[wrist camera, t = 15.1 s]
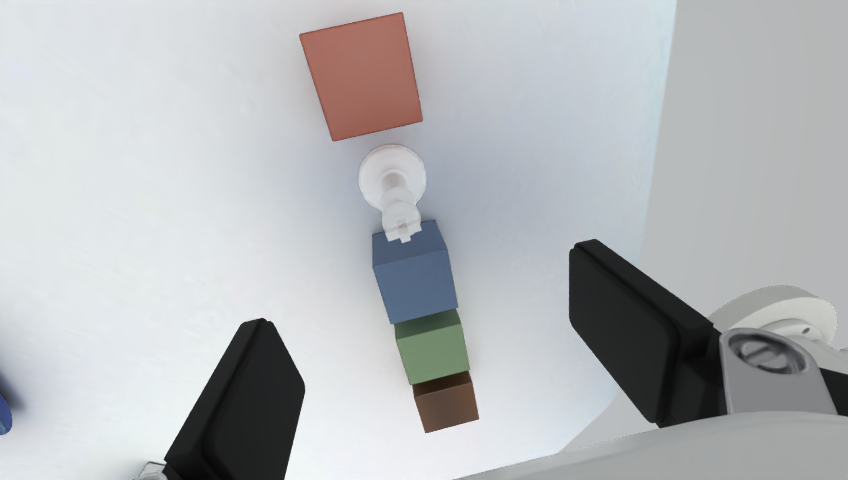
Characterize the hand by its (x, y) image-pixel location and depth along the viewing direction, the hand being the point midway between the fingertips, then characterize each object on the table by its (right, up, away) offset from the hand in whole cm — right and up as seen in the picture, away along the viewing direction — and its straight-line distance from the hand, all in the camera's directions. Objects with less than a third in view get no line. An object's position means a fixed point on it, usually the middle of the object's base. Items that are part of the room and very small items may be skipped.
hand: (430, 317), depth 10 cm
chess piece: (-2, +7, +14) cm, 16 cm away
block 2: (-1, +1, +17) cm, 17 cm away
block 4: (+1, -10, +23) cm, 25 cm away
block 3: (0, -4, +20) cm, 20 cm away
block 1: (-4, +13, +11) cm, 17 cm away
